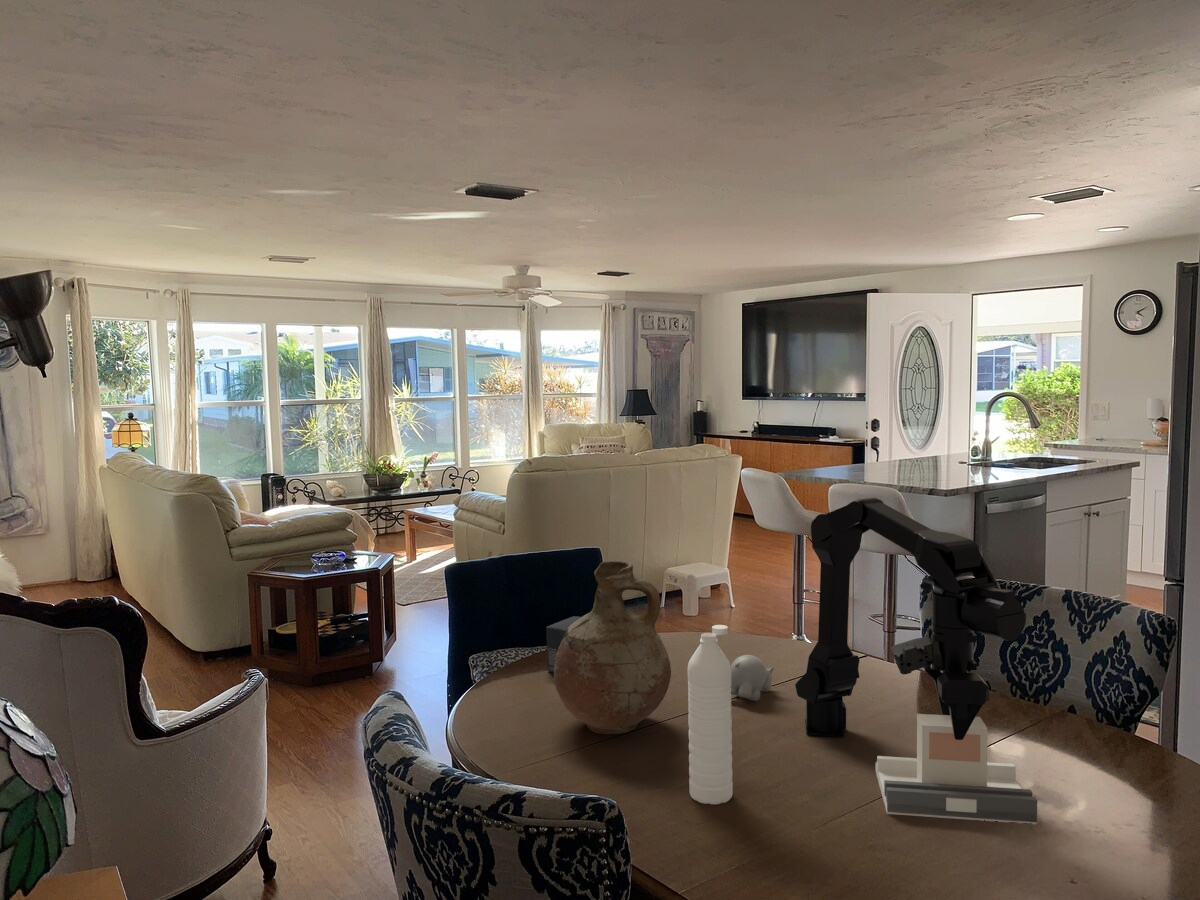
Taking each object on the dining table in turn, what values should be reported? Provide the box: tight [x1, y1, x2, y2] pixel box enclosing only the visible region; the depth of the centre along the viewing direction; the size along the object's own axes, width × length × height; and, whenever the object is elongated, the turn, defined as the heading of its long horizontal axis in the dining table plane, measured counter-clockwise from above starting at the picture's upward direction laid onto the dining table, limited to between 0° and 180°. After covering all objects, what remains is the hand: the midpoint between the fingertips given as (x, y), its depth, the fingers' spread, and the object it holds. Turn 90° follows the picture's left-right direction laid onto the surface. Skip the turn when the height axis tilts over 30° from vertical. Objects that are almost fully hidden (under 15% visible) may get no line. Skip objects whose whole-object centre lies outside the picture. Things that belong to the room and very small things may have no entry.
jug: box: [553, 560, 672, 735], centre depth 158 cm, size 22×22×30 cm
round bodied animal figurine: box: [730, 654, 774, 702], centre depth 172 cm, size 7×12×8 cm, turn 130°
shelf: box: [875, 755, 1038, 825], centre depth 129 cm, size 20×14×4 cm
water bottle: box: [687, 624, 734, 805], centre depth 131 cm, size 9×6×25 cm
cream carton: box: [916, 713, 988, 787], centre depth 128 cm, size 5×9×10 cm, turn 79°
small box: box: [545, 615, 582, 674], centre depth 192 cm, size 11×6×10 cm, turn 145°
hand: (952, 727), depth 128 cm, fingers open, 9 cm apart
